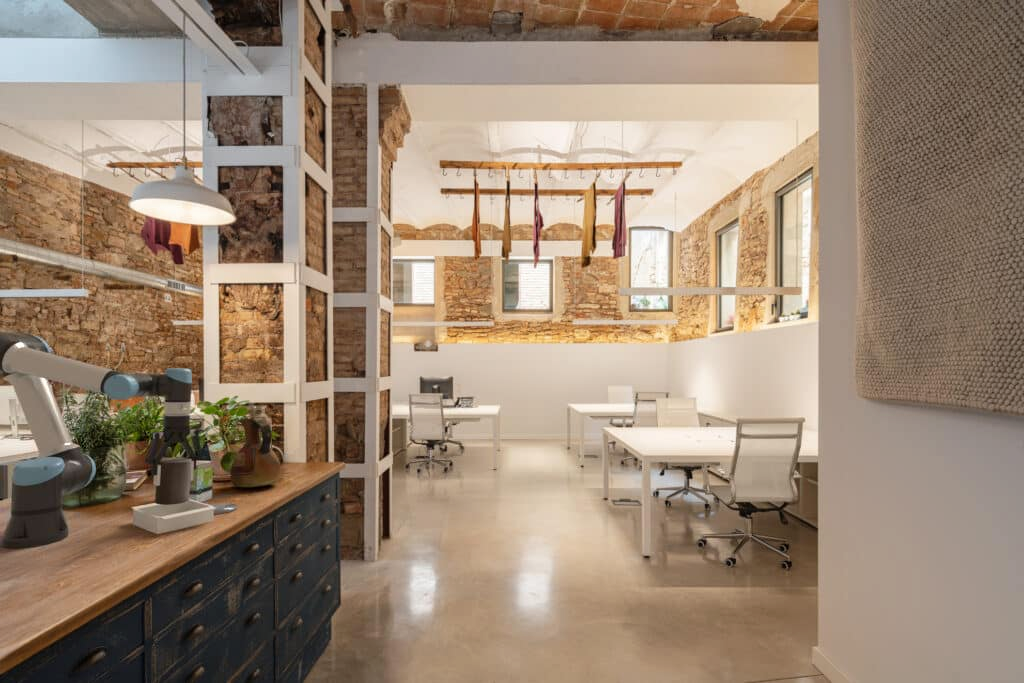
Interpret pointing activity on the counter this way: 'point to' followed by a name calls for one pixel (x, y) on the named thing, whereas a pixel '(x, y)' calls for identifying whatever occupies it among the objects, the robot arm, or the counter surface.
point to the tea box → (202, 481)
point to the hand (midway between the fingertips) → (173, 482)
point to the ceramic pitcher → (255, 457)
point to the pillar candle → (173, 481)
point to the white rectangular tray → (172, 516)
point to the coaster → (224, 508)
